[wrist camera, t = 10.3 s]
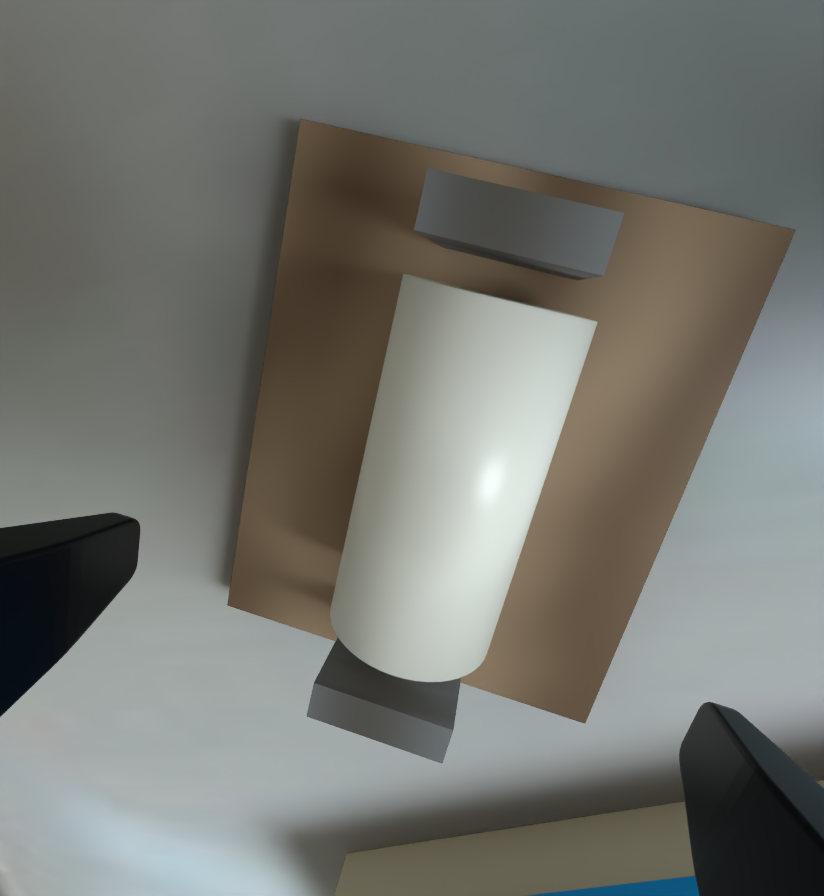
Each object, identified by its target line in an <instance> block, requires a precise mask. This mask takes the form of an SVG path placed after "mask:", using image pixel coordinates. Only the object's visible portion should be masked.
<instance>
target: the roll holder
mask: <svg viewBox="0 0 824 896" xmlns="http://www.w3.org/2000/svg"><path fill="white" fill-rule="evenodd" d="M794 233H795V230H794V229H790V228H785V227H781V226H777V225H772V224H768V223H763V222H759V221H754V220H750V219H745V218H741V217H736V216H732V215H727V214H723V213H719V212H714V211H710V210H705V209H701V208H696V207H692V206H687V205H683V204H678V203H674V202H669V201H665V200H661V199H656V198H652V197H647V196H643V195H638V194H634V193H629V192H625V191H620V190H616V189H611V188H607V187H603V186H598V185H594V184H589V183H585V182H580V181H576V180H571V179H567V178H562V177H558V176H554V175H549V174H545V173H540V172H536V171H531V170H527V169H522V168H518V167H513V166H509V165H504V164H500V163H496V162H491V161H487V160H482V159H478V158H473V157H469V156H464V155H460V154H455V153H451V152H446V151H442V150H438V149H433V148H429V147H424V146H420V145H415V144H411V143H406V142H402V141H397V140H393V139H388V138H384V137H380V136H375V135H371V134H366V133H362V132H357V131H353V130H348V129H344V128H339V127H335V126H330V125H326V124H322V123H317V122H313V121H308V120H304V119H300V125H299V132H298V138H297V145H296V152H295V158H294V165H293V172H292V178H291V185H290V192H289V198H288V205H287V212H286V218H285V225H284V232H283V238H282V245H281V252H280V258H279V265H278V272H277V278H276V285H275V292H274V298H273V305H272V312H271V318H270V325H269V332H268V338H267V345H266V352H265V358H264V365H263V371H262V378H261V385H260V391H259V398H258V405H257V411H256V418H255V425H254V431H253V438H252V445H251V451H250V458H249V465H248V471H247V478H246V485H245V491H244V498H243V505H242V511H241V518H240V525H239V531H238V538H237V545H236V551H235V558H234V565H233V571H232V578H231V585H230V591H229V598H228V604H227V605H228V606H231V607H234V608H237V609H240V610H243V611H246V612H249V613H252V614H255V615H258V616H261V617H264V618H267V619H270V620H273V621H276V622H279V623H282V624H285V625H288V626H291V627H294V628H297V629H300V630H304V631H307V632H310V633H313V634H316V635H319V636H322V637H325V638H328V639H331V640H334V641H336V642H335V644H334V646H333V647H332V649H331V651H330V653H329V655H328V657H327V659H326V661H325V663H324V665H323V667H322V669H321V671H320V672H319V674H318V676H317V678H316V680H315V682H314V686H313V690H312V695H311V699H310V704H309V708H308V713H307V717H310V718H313V719H316V720H319V721H322V722H324V723H327V724H330V725H333V726H336V727H339V728H342V729H345V730H347V731H350V732H353V733H356V734H359V735H362V736H365V737H367V738H370V739H373V740H376V741H379V742H382V743H385V744H388V745H390V746H393V747H396V748H399V749H402V750H405V751H408V752H411V753H413V754H416V755H419V756H422V757H425V758H428V759H431V760H434V761H436V762H439V763H443V760H444V757H445V754H446V751H447V747H448V744H449V741H450V738H451V735H452V732H453V728H454V721H455V715H456V708H457V701H458V694H459V687H460V682H461V683H464V684H467V685H470V686H473V687H476V688H479V689H482V690H485V691H488V692H491V693H494V694H497V695H500V696H503V697H506V698H509V699H512V700H515V701H518V702H521V703H524V704H527V705H530V706H533V707H536V708H539V709H542V710H545V711H548V712H551V713H555V714H558V715H561V716H564V717H567V718H570V719H573V720H576V721H579V722H582V723H585V722H586V720H587V718H588V715H589V713H590V710H591V708H592V706H593V703H594V701H595V699H596V696H597V694H598V692H599V689H600V687H601V685H602V682H603V680H604V678H605V675H606V673H607V671H608V668H609V666H610V664H611V661H612V659H613V657H614V654H615V652H616V650H617V647H618V645H619V643H620V640H621V638H622V636H623V633H624V631H625V628H626V626H627V624H628V621H629V619H630V617H631V614H632V612H633V610H634V607H635V605H636V603H637V600H638V598H639V596H640V593H641V591H642V589H643V586H644V584H645V582H646V579H647V577H648V575H649V572H650V570H651V568H652V565H653V563H654V561H655V558H656V556H657V554H658V551H659V549H660V546H661V544H662V542H663V539H664V537H665V535H666V532H667V530H668V528H669V525H670V523H671V521H672V518H673V516H674V514H675V511H676V509H677V507H678V504H679V502H680V500H681V497H682V495H683V493H684V490H685V488H686V486H687V483H688V481H689V479H690V476H691V474H692V472H693V469H694V467H695V464H696V462H697V460H698V457H699V455H700V453H701V450H702V448H703V446H704V443H705V441H706V439H707V436H708V434H709V432H710V429H711V427H712V425H713V422H714V420H715V418H716V415H717V413H718V411H719V408H720V406H721V404H722V401H723V399H724V397H725V394H726V392H727V390H728V387H729V385H730V383H731V380H732V378H733V375H734V373H735V371H736V368H737V366H738V364H739V361H740V359H741V357H742V354H743V352H744V350H745V347H746V345H747V343H748V340H749V338H750V336H751V333H752V331H753V329H754V326H755V324H756V322H757V319H758V317H759V315H760V312H761V310H762V308H763V305H764V303H765V301H766V298H767V296H768V293H769V291H770V289H771V286H772V284H773V282H774V279H775V277H776V275H777V272H778V270H779V268H780V265H781V263H782V261H783V258H784V256H785V254H786V251H787V249H788V247H789V244H790V242H791V240H792V237H793V235H794ZM403 274H408V275H413V276H418V277H422V278H427V279H431V280H435V281H440V282H444V283H448V284H453V285H457V286H461V287H465V288H469V289H473V290H478V291H482V292H486V293H490V294H494V295H498V296H502V297H506V298H510V299H514V300H518V301H522V302H526V303H530V304H534V305H538V306H542V307H545V308H549V309H553V310H557V311H561V312H565V313H568V314H572V315H576V316H579V317H583V318H587V319H590V320H593V321H596V322H598V323H597V326H596V329H595V332H594V335H593V338H592V341H591V344H590V347H589V350H588V353H587V356H586V359H585V362H584V365H583V368H582V371H581V374H580V377H579V380H578V383H577V386H576V389H575V392H574V395H573V398H572V401H571V404H570V407H569V410H568V413H567V416H566V419H565V422H564V425H563V428H562V431H561V433H560V436H559V439H558V442H557V445H556V448H555V451H554V454H553V457H552V460H551V463H550V466H549V469H548V472H547V475H546V478H545V481H544V484H543V487H542V490H541V493H540V496H539V499H538V502H537V505H536V508H535V511H534V514H533V517H532V520H531V523H530V526H529V529H528V532H527V535H526V538H525V541H524V544H523V547H522V550H521V553H520V556H519V559H518V562H517V565H516V568H515V571H514V574H513V577H512V580H511V583H510V586H509V589H508V592H507V595H506V598H505V601H504V604H503V607H502V610H501V613H500V616H499V619H498V622H497V625H496V628H495V631H494V634H493V637H492V640H491V643H490V646H489V649H488V652H487V655H486V657H485V659H484V661H483V662H482V663H481V665H480V666H479V667H478V668H477V669H476V670H474V671H473V672H471V673H469V674H468V675H466V676H463V677H461V678H458V679H454V680H450V681H442V682H421V681H413V680H408V679H403V678H400V677H396V676H393V675H390V674H387V673H385V672H382V671H380V670H378V669H376V668H374V667H372V666H370V665H368V664H367V663H365V662H363V661H362V660H360V659H359V658H358V657H356V656H355V655H354V654H353V653H351V652H350V651H349V650H348V649H347V648H346V647H345V646H344V645H343V643H342V642H341V641H340V639H339V638H338V637H337V635H336V633H335V631H334V629H333V626H332V624H331V619H330V608H331V604H332V599H333V595H334V590H335V585H336V581H337V576H338V572H339V567H340V562H341V558H342V553H343V549H344V544H345V539H346V535H347V530H348V526H349V521H350V516H351V512H352V507H353V503H354V498H355V493H356V489H357V484H358V480H359V475H360V470H361V466H362V461H363V457H364V452H365V448H366V443H367V438H368V434H369V429H370V425H371V420H372V415H373V411H374V406H375V402H376V397H377V392H378V388H379V383H380V379H381V374H382V369H383V365H384V360H385V356H386V351H387V346H388V342H389V337H390V333H391V328H392V323H393V319H394V314H395V310H396V305H397V300H398V296H399V291H400V287H401V282H402V278H403Z"/></svg>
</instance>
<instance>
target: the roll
mask: <svg viewBox="0 0 824 896" xmlns="http://www.w3.org/2000/svg"><path fill="white" fill-rule="evenodd" d="M597 323H598V322H596V321H593V320H590V319H587V318H583V317H579V316H576V315H572V314H568V313H565V312H561V311H557V310H553V309H549V308H545V307H542V306H538V305H534V304H530V303H526V302H522V301H518V300H514V299H510V298H506V297H502V296H498V295H494V294H490V293H486V292H482V291H478V290H473V289H469V288H465V287H461V286H457V285H453V284H448V283H444V282H440V281H435V280H431V279H427V278H422V277H418V276H413V275H408V274H403V278H402V282H401V287H400V291H399V296H398V300H397V305H396V310H395V314H394V319H393V323H392V328H391V333H390V337H389V342H388V346H387V351H386V356H385V360H384V365H383V369H382V374H381V379H380V383H379V388H378V392H377V397H376V402H375V406H374V411H373V415H372V420H371V425H370V429H369V434H368V438H367V443H366V448H365V452H364V457H363V461H362V466H361V470H360V475H359V480H358V484H357V489H356V493H355V498H354V503H353V507H352V512H351V516H350V521H349V526H348V530H347V535H346V539H345V544H344V549H343V553H342V558H341V562H340V567H339V572H338V576H337V581H336V585H335V590H334V595H333V599H332V604H331V608H330V619H331V624H332V626H333V629H334V631H335V633H336V635H337V637H338V638H339V639H340V641H341V642H342V643H343V645H344V646H345V647H346V648H347V649H348V650H349V651H350V652H351V653H353V654H354V655H355V656H356V657H358V658H359V659H360V660H362V661H363V662H365V663H367V664H368V665H370V666H372V667H374V668H376V669H378V670H380V671H382V672H385V673H387V674H390V675H393V676H396V677H400V678H403V679H408V680H413V681H421V682H442V681H450V680H454V679H458V678H461V677H463V676H466V675H468V674H469V673H471V672H473V671H474V670H476V669H477V668H478V667H479V666H480V665H481V663H482V662H483V661H484V659H485V657H486V655H487V652H488V649H489V646H490V643H491V640H492V637H493V634H494V631H495V628H496V625H497V622H498V619H499V616H500V613H501V610H502V607H503V604H504V601H505V598H506V595H507V592H508V589H509V586H510V583H511V580H512V577H513V574H514V571H515V568H516V565H517V562H518V559H519V556H520V553H521V550H522V547H523V544H524V541H525V538H526V535H527V532H528V529H529V526H530V523H531V520H532V517H533V514H534V511H535V508H536V505H537V502H538V499H539V496H540V493H541V490H542V487H543V484H544V481H545V478H546V475H547V472H548V469H549V466H550V463H551V460H552V457H553V454H554V451H555V448H556V445H557V442H558V439H559V436H560V433H561V431H562V428H563V425H564V422H565V419H566V416H567V413H568V410H569V407H570V404H571V401H572V398H573V395H574V392H575V389H576V386H577V383H578V380H579V377H580V374H581V371H582V368H583V365H584V362H585V359H586V356H587V353H588V350H589V347H590V344H591V341H592V338H593V335H594V332H595V329H596V326H597Z"/></svg>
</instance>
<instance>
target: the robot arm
mask: <svg viewBox="0 0 824 896" xmlns="http://www.w3.org/2000/svg"><path fill="white" fill-rule="evenodd" d="M139 539H140V525H139V522H138V521H137V520H136V519H134V518H131V517H128V516H125V515H121V514H118V513H105V514H98V515H91V516H84V517H77V518H70V519H62V520H55V521H48V522H41V523H34V524H27V525H19V526H12V527H5V528H0V717H1V716H2V715H3V714H4V713H5V712H6V711H7V710H8V709H9V708H10V707H11V706H12V705H13V704H14V703H15V702H16V701H17V700H18V699H19V698H20V697H21V696H22V695H24V694H25V693H26V692H27V691H28V690H29V689H30V688H31V687H32V686H33V685H34V684H35V683H36V682H37V681H38V680H39V679H40V678H41V677H42V676H43V675H44V674H45V673H46V672H48V671H49V670H50V669H51V668H52V667H53V666H54V665H55V664H56V663H57V662H58V661H59V660H60V659H61V658H62V657H63V656H64V655H65V654H66V653H67V652H68V651H69V649H70V648H71V647H72V646H73V645H74V644H75V643H76V642H77V641H78V640H79V638H80V637H81V636H82V635H83V634H84V633H85V631H86V630H87V629H88V628H89V627H90V626H91V625H92V623H93V622H94V621H95V620H96V619H97V618H98V616H99V615H100V614H101V613H102V612H103V611H104V609H105V608H106V607H107V606H108V605H109V604H110V602H111V601H112V600H113V599H114V598H115V597H116V596H117V594H118V593H119V592H120V591H121V590H122V589H123V587H124V586H125V585H126V584H127V583H128V582H129V580H130V579H131V578H132V576H133V574H134V572H135V570H136V567H137V562H138V550H139ZM679 761H680V770H681V777H682V785H683V793H684V800H685V808H686V816H687V823H688V831H689V838H690V846H691V854H692V860H693V866H694V873H695V878H696V882H697V887H698V892H699V896H824V788H823V787H822V786H821V785H820V784H819V783H818V782H817V781H815V780H814V779H813V778H812V777H811V776H810V775H809V774H808V773H806V772H805V771H804V770H803V769H802V768H801V767H800V766H799V765H797V764H796V763H795V762H794V761H793V760H792V759H791V758H790V757H789V756H787V755H786V754H785V753H784V752H783V751H782V750H781V749H780V748H778V747H777V746H776V745H775V744H774V743H773V742H772V741H771V740H769V739H768V738H767V737H766V736H765V735H764V734H763V733H762V732H761V731H759V730H758V729H757V728H756V727H755V726H754V725H753V724H752V723H750V722H749V721H748V720H747V719H746V718H745V717H744V716H743V715H742V714H740V713H739V712H738V711H736V710H734V709H731V708H728V707H725V706H722V705H719V704H715V703H712V702H707V703H704V704H703V705H702V706H701V707H700V708H699V710H698V712H697V714H696V716H695V718H694V720H693V722H692V724H691V726H690V728H689V730H688V732H687V734H686V736H685V738H684V740H683V742H682V744H681V748H680V754H679Z"/></svg>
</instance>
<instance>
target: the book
mask: <svg viewBox="0 0 824 896" xmlns="http://www.w3.org/2000/svg"><path fill="white" fill-rule="evenodd" d="M817 782H818V783H819V784H820V785H821V786H822V787H823V788H824V780H821V781H817ZM334 896H699V892H698V887H697V882H696V878H695V873H694V866H693V860H692V854H691V846H690V838H689V831H688V823H687V816H686V808H685V801H684V802H678V803H671V804H665V805H658V806H652V807H645V808H639V809H632V810H626V811H619V812H613V813H606V814H600V815H593V816H587V817H580V818H574V819H567V820H561V821H554V822H548V823H541V824H535V825H528V826H522V827H515V828H509V829H502V830H496V831H489V832H483V833H476V834H470V835H464V836H457V837H451V838H444V839H438V840H431V841H425V842H418V843H412V844H405V845H399V846H392V847H386V848H379V849H373V850H366V851H360V852H353V853H347V854H346V858H345V861H344V864H343V867H342V871H341V874H340V877H339V881H338V884H337V887H336V890H335V894H334Z"/></svg>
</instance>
